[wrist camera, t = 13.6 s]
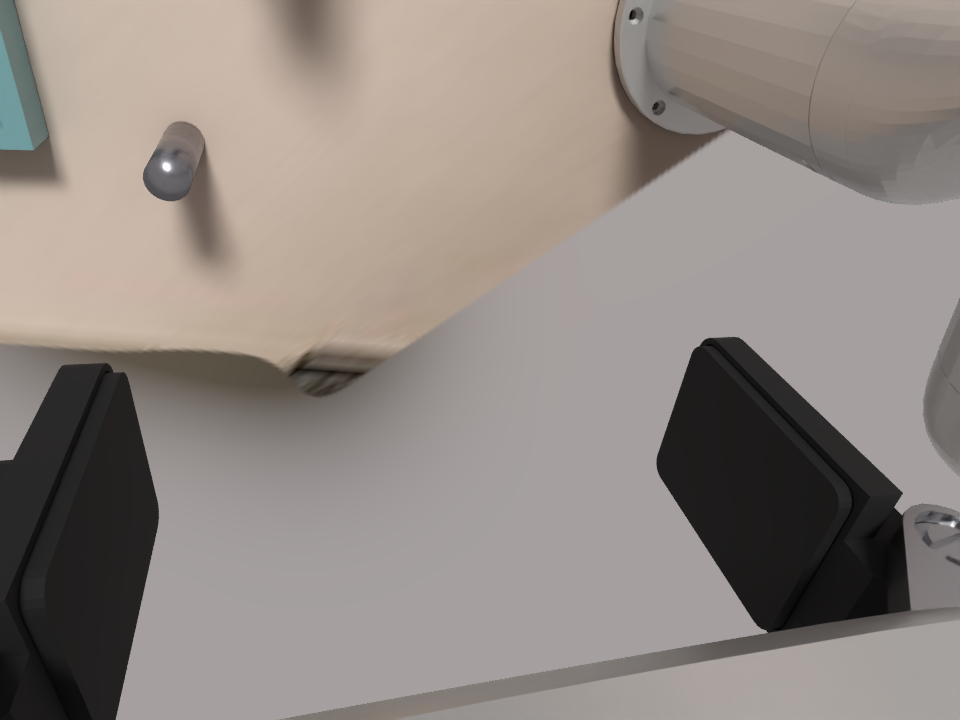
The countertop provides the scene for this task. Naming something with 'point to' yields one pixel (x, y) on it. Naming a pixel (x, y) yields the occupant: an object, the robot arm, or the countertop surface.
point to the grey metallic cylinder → (174, 162)
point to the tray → (17, 88)
